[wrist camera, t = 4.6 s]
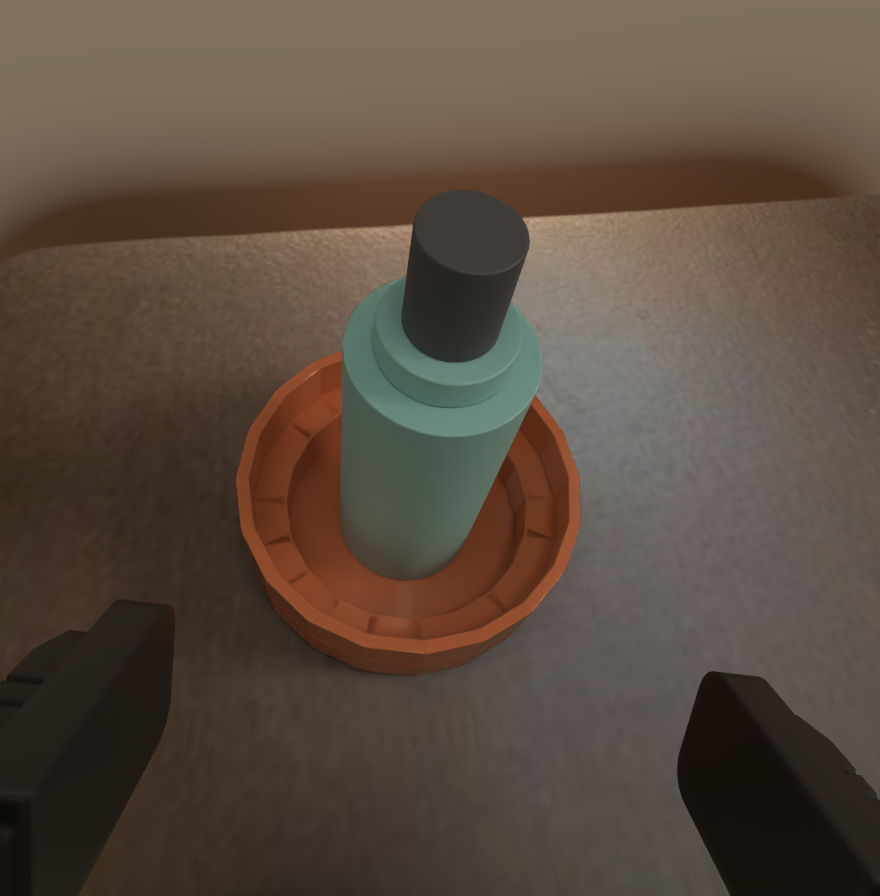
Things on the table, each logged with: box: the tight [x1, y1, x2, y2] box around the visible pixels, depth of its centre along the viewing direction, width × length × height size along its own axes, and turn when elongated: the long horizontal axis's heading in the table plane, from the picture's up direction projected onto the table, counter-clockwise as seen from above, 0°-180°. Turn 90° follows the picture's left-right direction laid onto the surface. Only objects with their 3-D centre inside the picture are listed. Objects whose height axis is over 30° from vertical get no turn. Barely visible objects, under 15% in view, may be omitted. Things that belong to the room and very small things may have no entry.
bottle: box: [340, 190, 543, 581], centre depth 23 cm, size 6×6×18 cm
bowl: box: [236, 351, 580, 676], centre depth 29 cm, size 14×14×5 cm
